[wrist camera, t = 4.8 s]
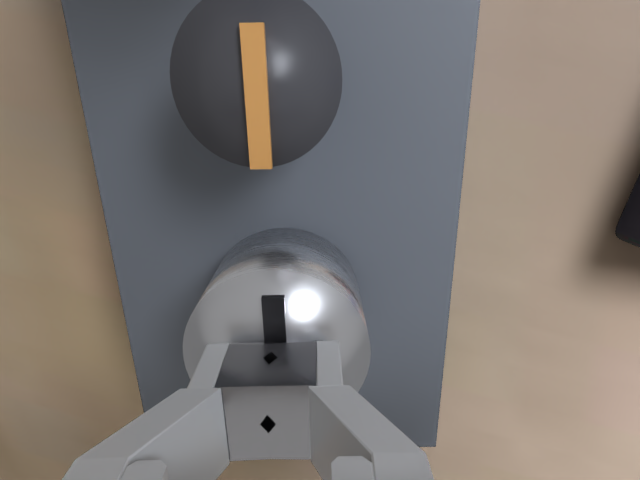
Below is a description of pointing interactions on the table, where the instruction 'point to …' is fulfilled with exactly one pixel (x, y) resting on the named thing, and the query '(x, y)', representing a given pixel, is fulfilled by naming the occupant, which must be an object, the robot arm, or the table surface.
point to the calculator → (631, 218)
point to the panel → (289, 183)
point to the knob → (282, 300)
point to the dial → (256, 79)
